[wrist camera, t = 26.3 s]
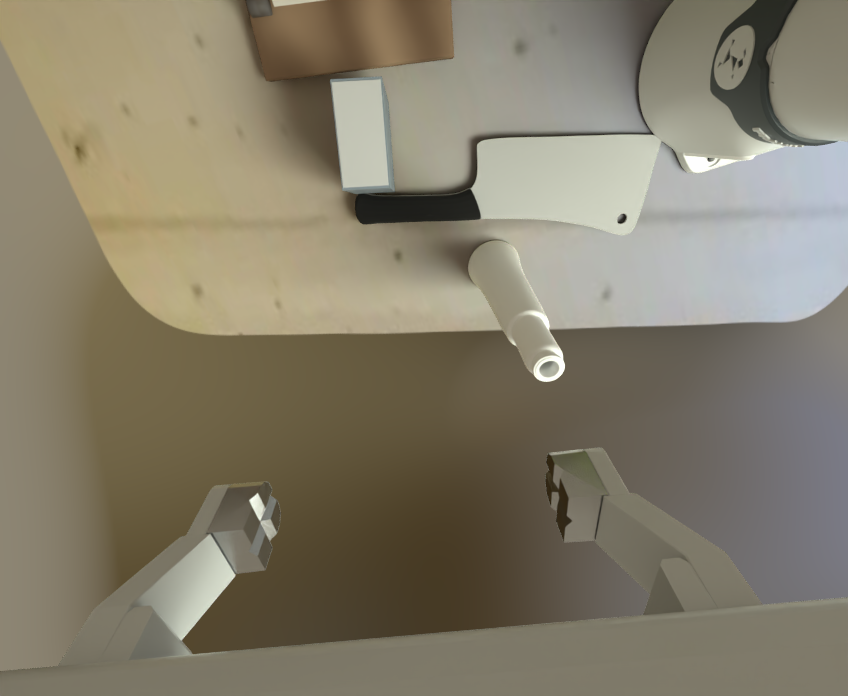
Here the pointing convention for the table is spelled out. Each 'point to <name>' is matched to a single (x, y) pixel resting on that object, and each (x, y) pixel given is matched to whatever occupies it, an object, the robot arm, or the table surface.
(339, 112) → the grey rectangular prism
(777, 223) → the table surface
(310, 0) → the tile
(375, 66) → the hinge board
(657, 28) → the robot arm
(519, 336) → the cosmetic bottle
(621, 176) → the kitchen cleaver
